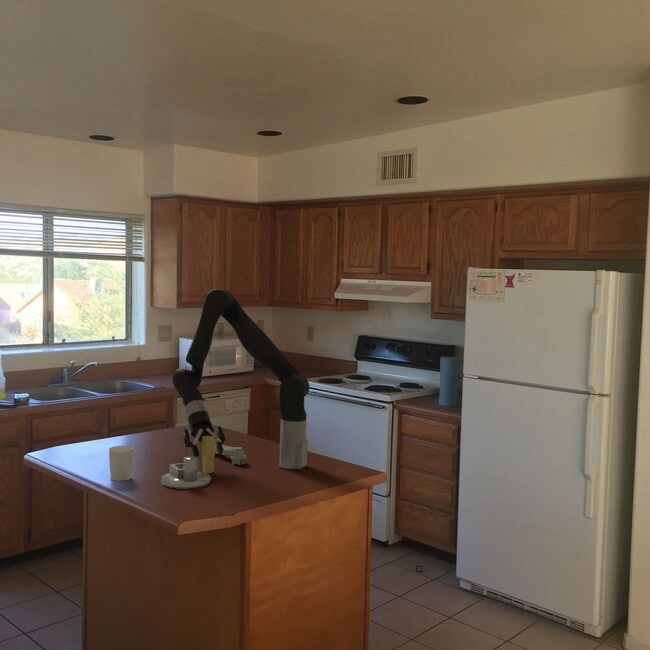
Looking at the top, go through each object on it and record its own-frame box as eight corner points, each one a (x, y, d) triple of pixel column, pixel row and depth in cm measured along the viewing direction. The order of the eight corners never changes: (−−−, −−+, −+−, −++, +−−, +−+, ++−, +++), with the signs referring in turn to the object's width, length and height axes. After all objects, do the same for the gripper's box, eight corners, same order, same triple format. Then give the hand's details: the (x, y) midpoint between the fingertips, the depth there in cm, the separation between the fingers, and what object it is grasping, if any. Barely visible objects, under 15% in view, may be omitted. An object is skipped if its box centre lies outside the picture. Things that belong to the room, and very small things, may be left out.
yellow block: (201, 470, 242) (202, 436, 242) (209, 469, 244) (209, 435, 243) (206, 473, 238) (207, 439, 238) (214, 472, 240) (215, 438, 239)
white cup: (120, 483, 224) (120, 452, 224) (103, 478, 228) (103, 448, 228) (138, 477, 231) (139, 448, 230) (122, 473, 235) (122, 444, 235)
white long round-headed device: (212, 440, 271) (248, 444, 252) (213, 457, 271) (249, 463, 252) (201, 442, 268) (236, 446, 249) (201, 459, 268) (237, 465, 249)
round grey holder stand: (154, 478, 231) (154, 452, 230) (199, 473, 239) (200, 448, 238) (170, 491, 217) (171, 464, 216) (218, 485, 225) (219, 458, 225)
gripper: (181, 411, 243) (192, 451, 234) (219, 408, 250) (231, 447, 241) (175, 423, 247) (186, 462, 238) (213, 420, 255) (225, 458, 246)
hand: (209, 454), depth 240 cm, fingers open, 8 cm apart
